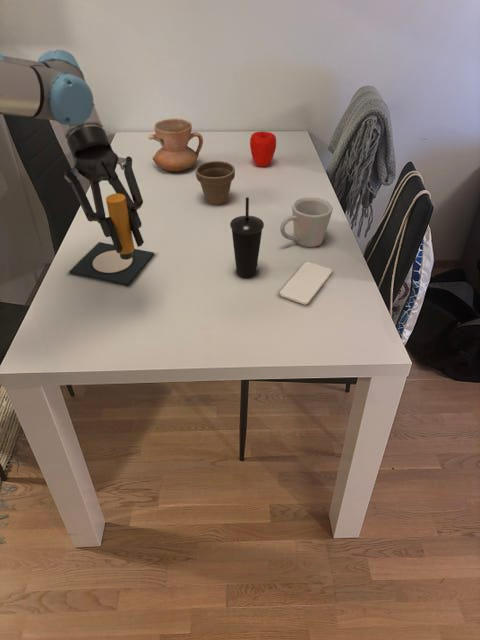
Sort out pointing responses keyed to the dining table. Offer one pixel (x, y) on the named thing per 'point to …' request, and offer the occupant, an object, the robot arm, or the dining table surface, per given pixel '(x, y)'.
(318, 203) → the mug
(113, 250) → the black coaster mat
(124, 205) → the marker
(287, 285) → the smartphone
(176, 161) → the ceramic jug
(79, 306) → the dining table surface
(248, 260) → the drinking cup
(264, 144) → the red rounded lobed shape
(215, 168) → the flower pot
